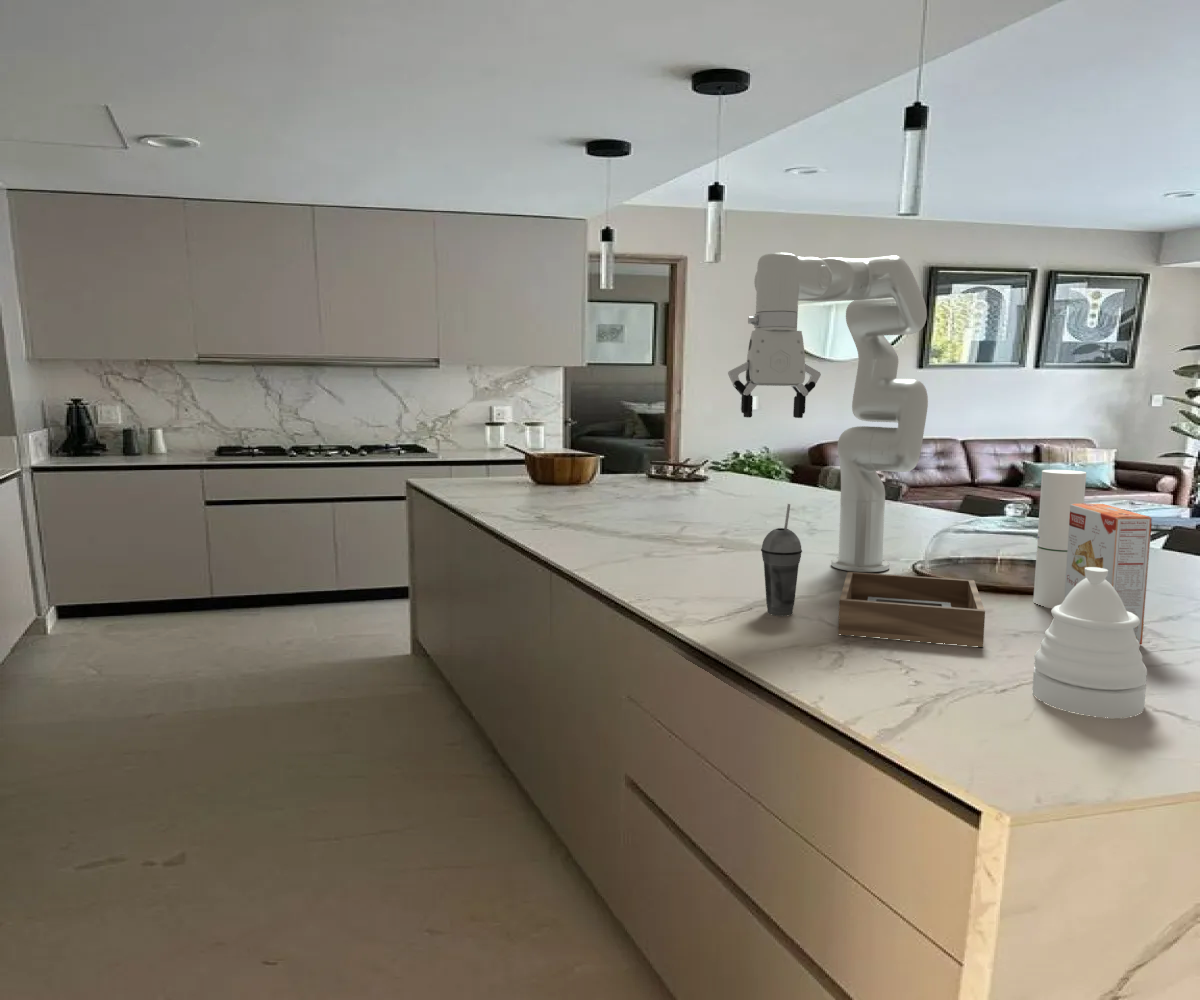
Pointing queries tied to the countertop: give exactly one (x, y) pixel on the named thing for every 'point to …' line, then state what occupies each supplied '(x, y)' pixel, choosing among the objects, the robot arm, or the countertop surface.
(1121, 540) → the cracker box
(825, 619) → the countertop surface
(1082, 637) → the honey pot
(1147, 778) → the countertop surface
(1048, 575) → the cylindrical container
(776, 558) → the beverage cup
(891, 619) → the walled box
